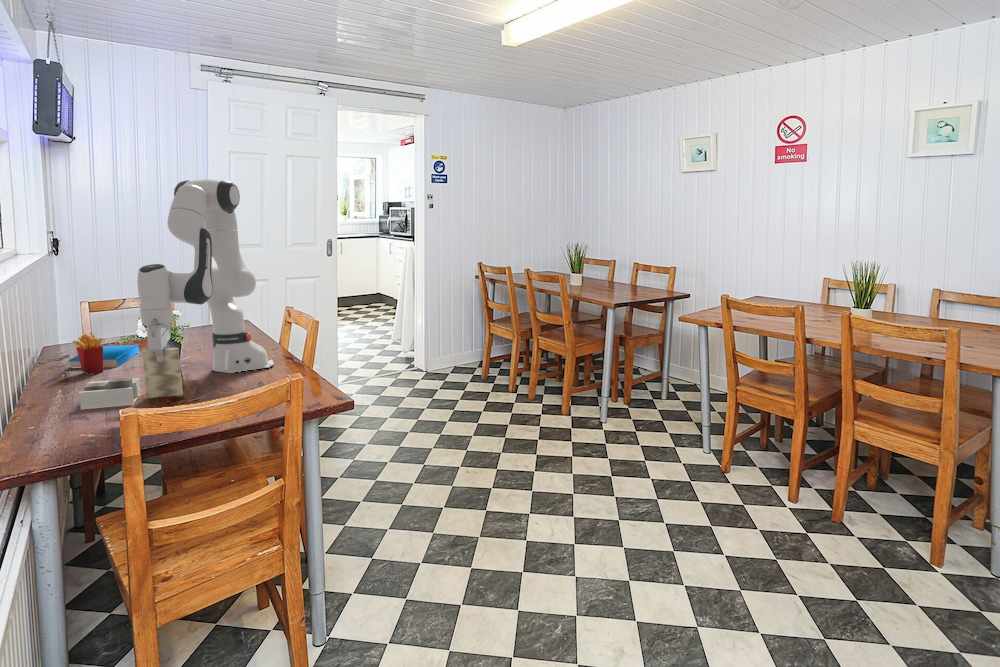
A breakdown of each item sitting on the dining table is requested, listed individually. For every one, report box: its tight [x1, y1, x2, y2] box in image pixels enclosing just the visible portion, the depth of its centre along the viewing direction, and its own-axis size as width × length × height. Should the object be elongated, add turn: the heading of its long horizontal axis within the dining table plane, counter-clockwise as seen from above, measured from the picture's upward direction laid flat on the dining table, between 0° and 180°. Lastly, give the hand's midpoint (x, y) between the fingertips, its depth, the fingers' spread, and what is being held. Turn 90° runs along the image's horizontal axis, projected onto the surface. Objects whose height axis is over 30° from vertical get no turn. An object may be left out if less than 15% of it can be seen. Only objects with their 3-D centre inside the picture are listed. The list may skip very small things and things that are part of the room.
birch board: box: [141, 347, 184, 399], centre depth 200 cm, size 10×2×16 cm, turn 110°
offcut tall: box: [108, 376, 134, 397], centre depth 195 cm, size 6×4×7 cm
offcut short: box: [83, 382, 109, 391], centre depth 193 cm, size 6×4×6 cm
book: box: [68, 344, 140, 368], centre depth 253 cm, size 17×4×25 cm
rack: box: [78, 377, 142, 411], centre depth 196 cm, size 14×14×6 cm
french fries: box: [72, 332, 104, 375], centre depth 233 cm, size 9×8×15 cm
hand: (161, 359), depth 199 cm, fingers open, 3 cm apart
